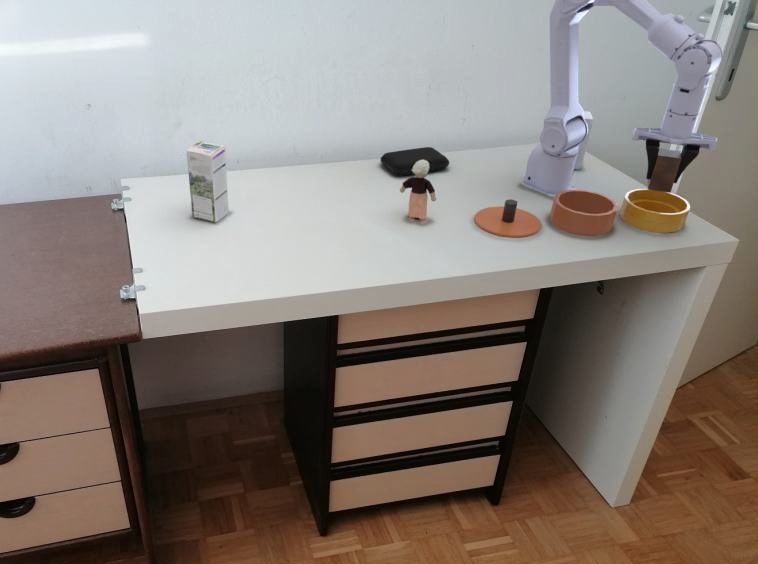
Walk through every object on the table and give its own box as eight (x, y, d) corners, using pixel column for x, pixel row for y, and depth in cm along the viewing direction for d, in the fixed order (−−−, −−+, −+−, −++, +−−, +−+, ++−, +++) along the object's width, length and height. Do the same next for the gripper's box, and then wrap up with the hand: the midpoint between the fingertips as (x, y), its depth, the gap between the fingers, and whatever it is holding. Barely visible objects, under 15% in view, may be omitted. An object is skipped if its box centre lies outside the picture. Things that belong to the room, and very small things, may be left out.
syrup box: (229, 212, 151) (226, 144, 142) (215, 224, 146) (211, 154, 138) (206, 207, 153) (201, 139, 144) (191, 218, 148) (185, 149, 140)
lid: (460, 222, 148) (464, 199, 145) (501, 205, 155) (505, 183, 152) (512, 246, 140) (517, 222, 137) (553, 227, 147) (558, 204, 144)
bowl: (607, 218, 150) (613, 198, 148) (639, 203, 156) (645, 183, 154) (662, 241, 143) (670, 220, 140) (694, 223, 149) (701, 203, 146)
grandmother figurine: (435, 218, 149) (443, 159, 142) (432, 226, 146) (439, 166, 139) (398, 213, 151) (404, 154, 144) (394, 220, 148) (400, 161, 141)
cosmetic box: (581, 170, 171) (594, 119, 164) (562, 168, 172) (574, 118, 165) (578, 160, 176) (590, 111, 169) (560, 159, 176) (571, 109, 169)
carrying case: (429, 154, 178) (374, 162, 173) (430, 142, 176) (375, 149, 172) (451, 170, 170) (395, 179, 165) (453, 158, 168) (396, 166, 164)
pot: (537, 222, 149) (542, 199, 146) (571, 206, 155) (577, 184, 152) (588, 244, 141) (595, 221, 138) (623, 227, 147) (629, 204, 144)
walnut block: (647, 189, 144) (658, 155, 140) (647, 181, 147) (657, 148, 143) (670, 192, 143) (681, 158, 139) (669, 184, 146) (681, 151, 142)
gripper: (641, 112, 135) (621, 181, 143) (727, 122, 131) (702, 193, 139) (641, 101, 140) (622, 168, 148) (724, 110, 136) (700, 179, 144)
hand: (661, 179), depth 144 cm, fingers closed on walnut block, 4 cm apart
